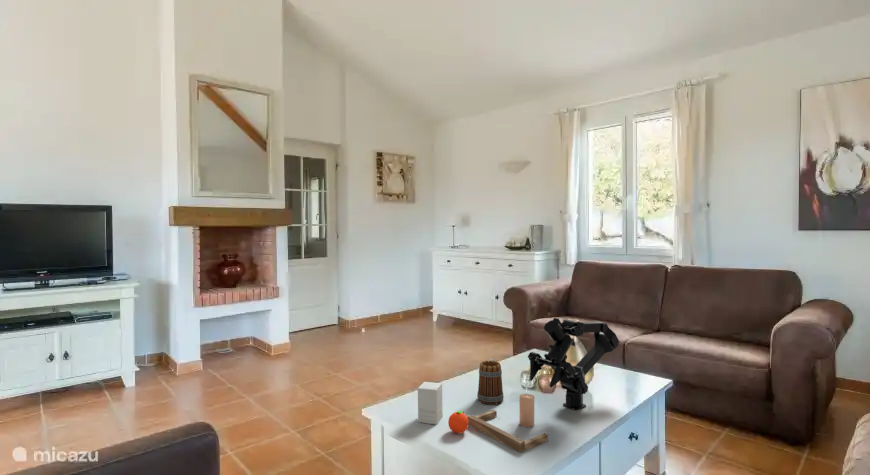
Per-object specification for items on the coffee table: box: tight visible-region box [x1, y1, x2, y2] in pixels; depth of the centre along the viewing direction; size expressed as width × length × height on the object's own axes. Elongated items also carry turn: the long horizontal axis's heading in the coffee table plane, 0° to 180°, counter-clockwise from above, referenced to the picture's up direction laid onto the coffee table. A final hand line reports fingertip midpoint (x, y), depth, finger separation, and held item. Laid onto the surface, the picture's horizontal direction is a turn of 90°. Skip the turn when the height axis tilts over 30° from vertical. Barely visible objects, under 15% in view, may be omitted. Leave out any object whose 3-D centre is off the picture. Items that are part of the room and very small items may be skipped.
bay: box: [466, 409, 549, 453], centre depth 160 cm, size 13×26×3 cm, turn 36°
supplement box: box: [417, 381, 444, 425], centre depth 170 cm, size 7×7×13 cm
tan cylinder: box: [519, 393, 535, 428], centre depth 166 cm, size 5×5×10 cm
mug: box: [477, 357, 504, 406], centre depth 191 cm, size 16×11×15 cm
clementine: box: [448, 410, 469, 434], centre depth 160 cm, size 8×7×7 cm
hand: (540, 383), depth 170 cm, fingers open, 9 cm apart
